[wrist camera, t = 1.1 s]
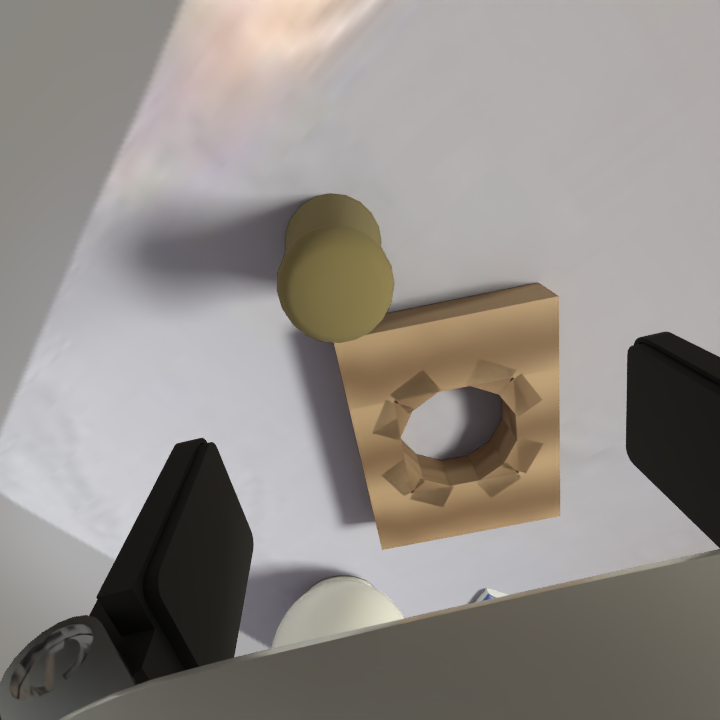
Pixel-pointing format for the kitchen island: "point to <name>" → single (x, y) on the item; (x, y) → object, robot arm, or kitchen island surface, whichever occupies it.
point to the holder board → (451, 371)
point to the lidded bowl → (335, 610)
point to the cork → (334, 270)
